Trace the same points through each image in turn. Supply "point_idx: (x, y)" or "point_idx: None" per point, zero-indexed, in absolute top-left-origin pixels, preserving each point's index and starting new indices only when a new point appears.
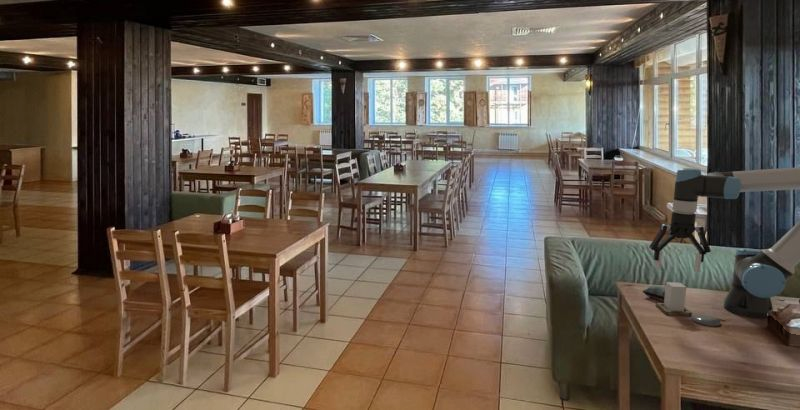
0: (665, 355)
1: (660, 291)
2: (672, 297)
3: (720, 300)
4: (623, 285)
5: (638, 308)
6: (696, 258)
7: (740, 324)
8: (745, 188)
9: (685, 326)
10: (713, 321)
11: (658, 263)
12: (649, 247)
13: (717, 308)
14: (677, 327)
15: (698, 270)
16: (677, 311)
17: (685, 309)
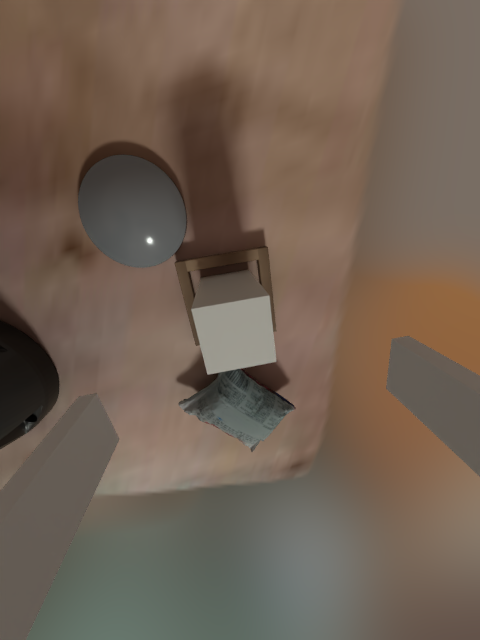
0: None
1: (254, 394)
2: (250, 283)
3: None
4: (312, 459)
5: (336, 285)
6: (43, 556)
7: (6, 217)
8: None
9: (223, 122)
10: (105, 191)
11: (461, 372)
12: None
13: (80, 364)
14: (258, 97)
15: (82, 403)
16: (225, 261)
17: (192, 292)
